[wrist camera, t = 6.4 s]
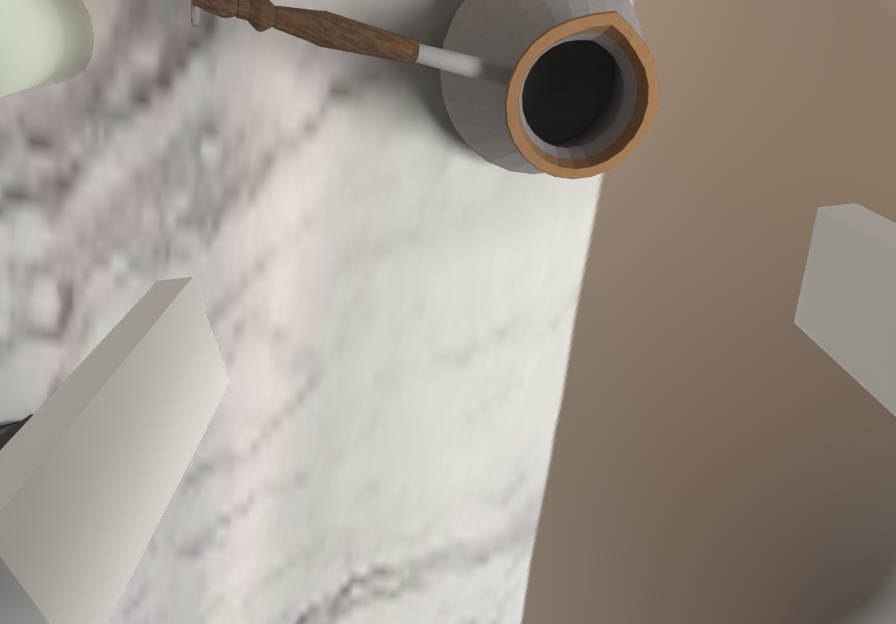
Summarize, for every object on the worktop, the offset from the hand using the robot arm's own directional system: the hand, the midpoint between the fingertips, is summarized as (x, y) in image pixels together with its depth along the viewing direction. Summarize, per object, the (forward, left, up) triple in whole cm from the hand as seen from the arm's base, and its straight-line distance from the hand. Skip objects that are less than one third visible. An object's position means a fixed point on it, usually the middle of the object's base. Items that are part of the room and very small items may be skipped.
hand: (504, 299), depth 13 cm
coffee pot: (+3, -1, -27) cm, 27 cm away
